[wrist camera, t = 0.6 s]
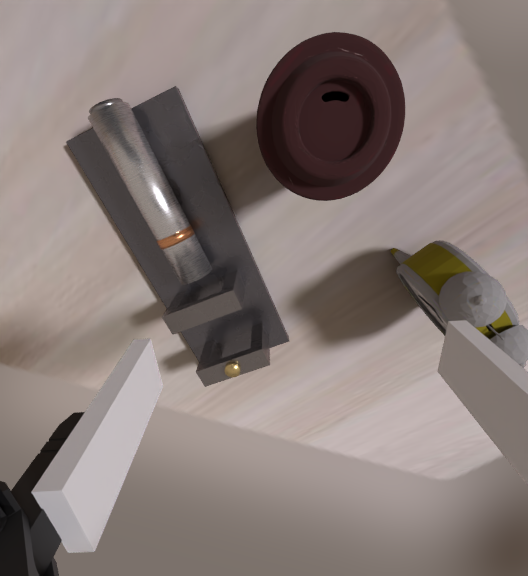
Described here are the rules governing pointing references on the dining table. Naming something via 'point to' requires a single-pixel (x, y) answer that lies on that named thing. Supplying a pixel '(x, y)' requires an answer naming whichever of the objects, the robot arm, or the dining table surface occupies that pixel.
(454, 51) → the dining table surface
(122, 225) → the grey holder stand
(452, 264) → the alarm clock
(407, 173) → the dining table surface
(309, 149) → the coffee cup
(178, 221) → the tube
